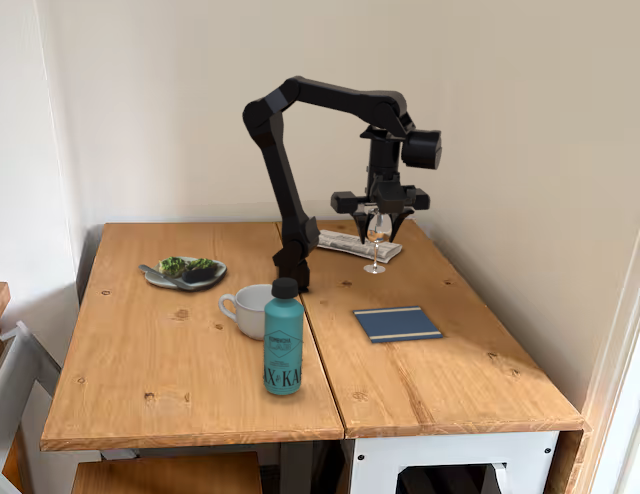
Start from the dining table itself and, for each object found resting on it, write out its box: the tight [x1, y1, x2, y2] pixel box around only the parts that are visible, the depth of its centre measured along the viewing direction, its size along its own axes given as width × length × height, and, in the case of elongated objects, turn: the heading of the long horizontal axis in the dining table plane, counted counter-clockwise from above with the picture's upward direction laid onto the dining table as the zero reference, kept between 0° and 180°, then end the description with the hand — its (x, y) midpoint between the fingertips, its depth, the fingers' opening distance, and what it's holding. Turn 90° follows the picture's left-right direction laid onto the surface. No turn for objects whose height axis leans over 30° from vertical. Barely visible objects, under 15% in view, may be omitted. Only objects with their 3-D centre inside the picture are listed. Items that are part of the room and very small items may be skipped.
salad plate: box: [137, 255, 228, 293], centre depth 159 cm, size 19×18×5 cm
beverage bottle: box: [262, 278, 305, 396], centre depth 113 cm, size 6×7×20 cm
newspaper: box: [317, 229, 403, 264], centre depth 177 cm, size 23×12×2 cm, turn 58°
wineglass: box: [363, 207, 393, 274], centre depth 143 cm, size 6×6×12 cm
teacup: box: [217, 283, 275, 341], centre depth 136 cm, size 14×11×8 cm
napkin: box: [352, 305, 444, 344], centre depth 141 cm, size 14×14×1 cm
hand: (376, 243), depth 144 cm, fingers closed on wineglass, 5 cm apart
